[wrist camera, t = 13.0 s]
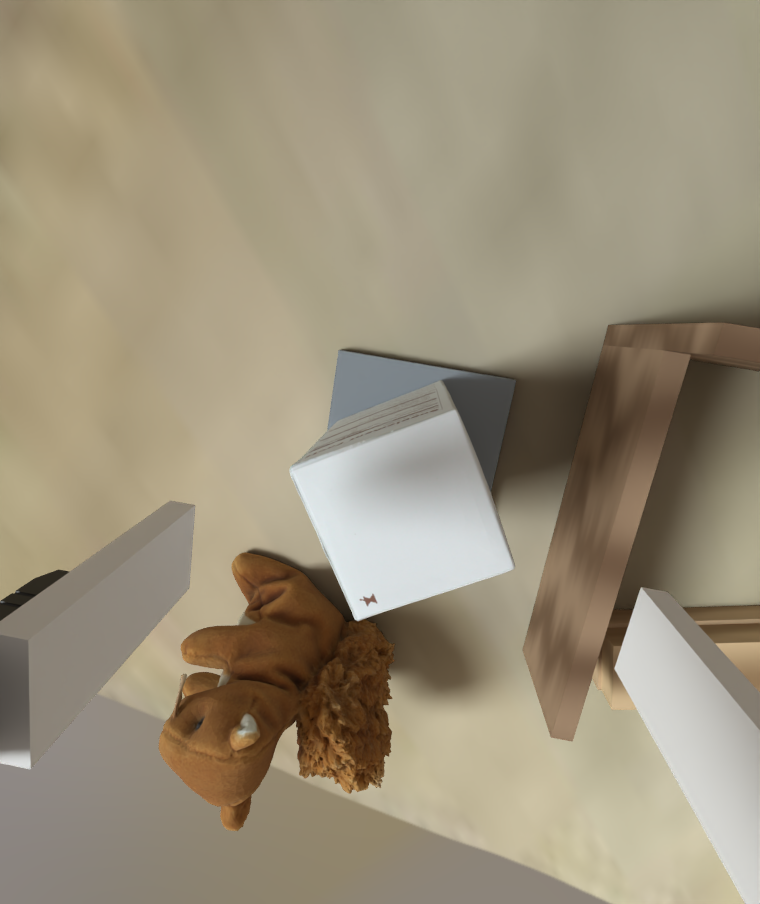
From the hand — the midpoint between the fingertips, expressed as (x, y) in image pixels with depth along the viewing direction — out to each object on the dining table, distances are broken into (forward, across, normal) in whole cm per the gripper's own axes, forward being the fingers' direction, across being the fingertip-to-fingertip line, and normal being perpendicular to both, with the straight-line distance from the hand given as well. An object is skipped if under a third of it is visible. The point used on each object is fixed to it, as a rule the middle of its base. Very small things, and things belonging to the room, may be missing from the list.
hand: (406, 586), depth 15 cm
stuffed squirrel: (+19, -5, -15) cm, 25 cm away
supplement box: (+18, 0, 0) cm, 18 cm away
